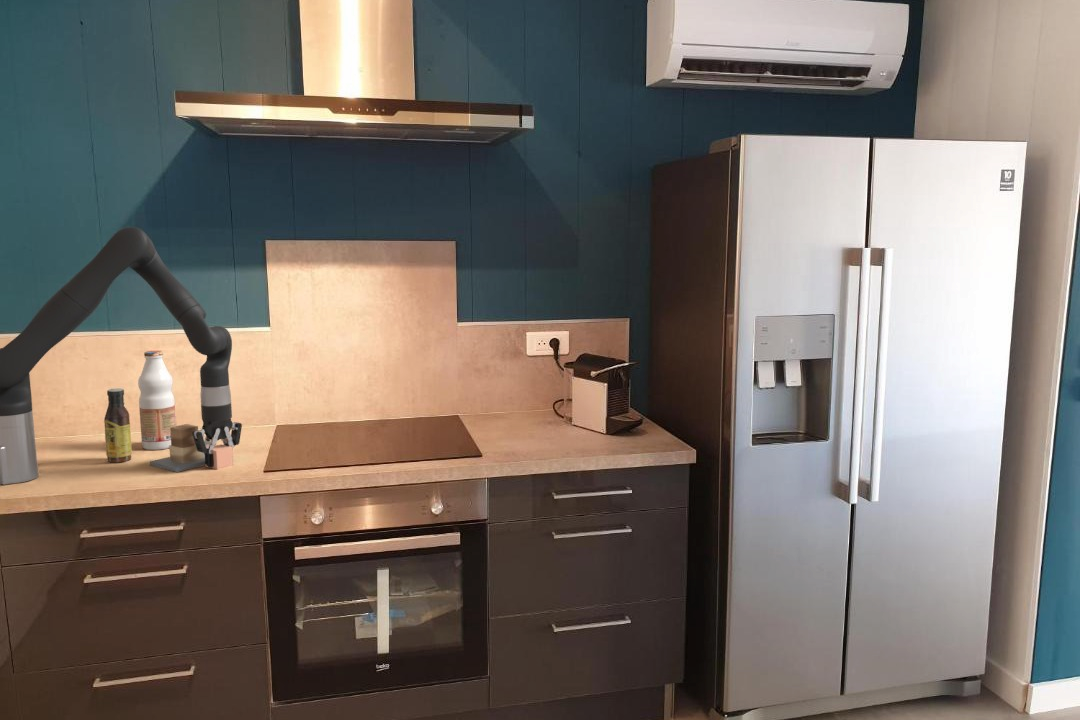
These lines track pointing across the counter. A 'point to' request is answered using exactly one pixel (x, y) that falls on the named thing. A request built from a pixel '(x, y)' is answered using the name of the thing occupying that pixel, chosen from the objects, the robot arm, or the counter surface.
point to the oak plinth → (184, 454)
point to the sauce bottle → (117, 428)
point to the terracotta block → (222, 456)
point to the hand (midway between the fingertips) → (219, 463)
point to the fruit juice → (156, 403)
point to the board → (177, 464)
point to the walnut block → (183, 435)
